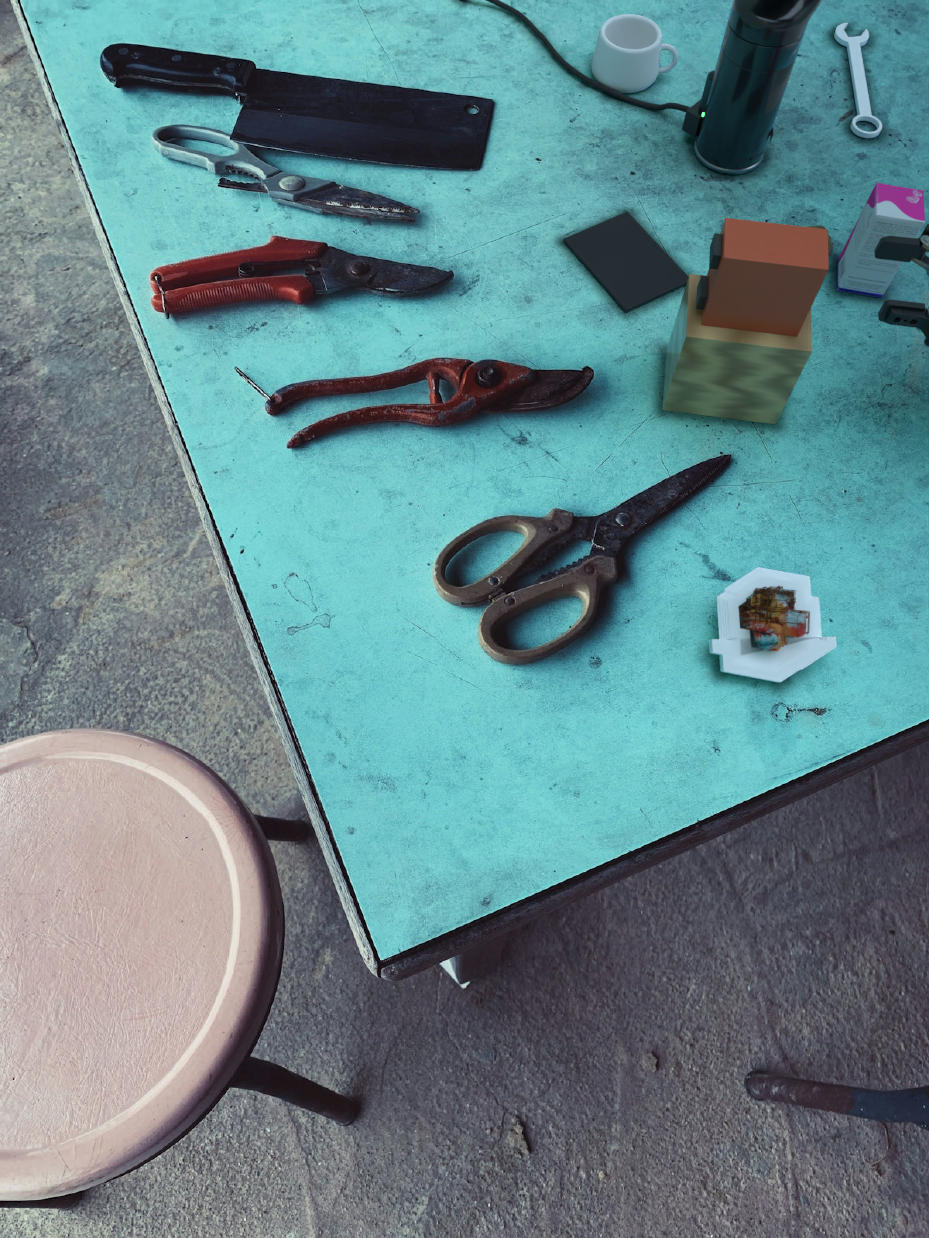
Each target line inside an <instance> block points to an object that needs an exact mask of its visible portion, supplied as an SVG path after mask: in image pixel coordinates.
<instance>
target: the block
mask: <svg viewBox="0 0 929 1238" xmlns="http://www.w3.org/2000/svg"><path fill="white" fill-rule="evenodd" d="M827 230H828V229H827V228H826V229H820V228H811V227H809V226H801V225H792V224H784V223H776V222H775V223H774V222H766V221H760V220H759V221H757V220H749V219H740V218H731V217H725V218H724V220H723V223H722V226H721V229H720V232H719V233H717V232H715V233H713V236H712V239H711V242H710V246H709V259H708V270H707V273H706V275H705V276H702V275H703V274H700V275H701V277H700V280H699V284H698V287H697V299H696V309H700V310H702V319H701V325H705V326H713V327H721V328H730V329H738V330H746V331H755V332H763V333H771V334H780V335H788V336H796V337H797V336H798V334H799V332H800V330H801V328H802V326H803V323H804V321H805V319H806V317H807V315H808V313H809V311H810V309H811V310H812V307H813V304H814V302H815V300H816V298H817V296H818V293H819V292H820V289H821V287H822V285H823V283H824V281H825V279H826V277H827V275H828V272H829V270H830V262H829V256H828V235H829V230H828V231H827Z"/></svg>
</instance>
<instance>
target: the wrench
mask: <svg viewBox="0 0 929 1238" xmlns="http://www.w3.org/2000/svg"><path fill="white" fill-rule="evenodd" d="M848 25H849V22H842V23H840V24H838V25H837V26H836V29H835V31H834V33H833V34H834V35H833V38H834V39H835V41H836V42H837V43H839V44H840V45H841V46H843V47H846V50H847V56H848V63H849V64H848V65H849V69H850V76H851V82H852V89H853V95H854V101H855V109H856V116H854V117H853V119H852V121H851V123H850V130H851V131H852V133H853V134H855V135H856V136H858V137H860V138H862V139H863V138H865V139H873V138H877V136H879V135H880V133H881V131H882V129H883V123H882V121H881V120H880V119H879V118H878V117H876V116H875V115H873V114H872V109H871V108H872V107H871V102H870V96H869V90H868V83H867V77H866V71H865V66H864V60H863V54H862V49H861V48H862V47H864V46H865V45H866V44H867V42H868V41H869V38H870V31H868V29H867V28H865V30H864V31H863V32H862V33H861V35H855V36H848V34H847V32H846V31H845V30H846V29H847V27H848ZM860 121H861V122H863V121H865V122H869V123H872V124H873V125H874V126H875V127H876V130H874V131H867V130H863V129H861V128H860V127H858V126H857V124H856V123H858V122H860Z"/></svg>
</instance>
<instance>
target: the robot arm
mask: <svg viewBox="0 0 929 1238" xmlns="http://www.w3.org/2000/svg"><path fill="white" fill-rule="evenodd" d="M458 1H459V2H466V0H458ZM485 1H486V2H488V3H491V4H492V5H495V6H497V7H499V8H501V9H503V10H504V11H506V12H508V13H510V14H512V15H513V16H515V17H516V18H518V19H519V20H520V21H522V22H523V23H524V25H526V27H527V28H528V29H530V31H531V32H532V33H533V34H534V35H535V36H536V37H537V38H538V39H539V40H540V41H541V42H542V43H543V45H544V46H545V47H546V48H547V50H548V51H549V53H550V54H551V55H552V56H553V58H554V59H555V61H557V63H558V64H559V65H560V66H562V67H563V68H564V69H565V70H567V72H569V73H571V75H573V76H574V77H576V78H577V79H579V80H580V81H581V82H584V83H585V84H586V85H589V86H591V87H593V88H595V89H597V90H599V91H600V92H603V93H605V94H607V95H610V96H611V97H613V98H616V99H618V100H621V101H623V102H624V103H628V104H630V105H632V106H635V107H639V108H642V109H646V110H651V111H664V110H675V111H680V112H683V113H685V114H684V119H683V124H682V126H681V131H683V132H684V133H686V134H688V135H690V136H691V138H690V141H691V142H693V144H694V146H693V151H694V155H695V156H696V158H697V160H698V161H699V162H700V163H701V164H702V165H703V166H705V167H706V168H708V169H709V170H712V171H714V172H716V173H721V174H724V175H742V174H747V173H749V172H751V171H753V170H755V169H756V168H758V167H759V166H760V164H761V163H762V162H763V159H764V156H765V152H766V148H767V145H768V142H769V143H772V140H773V137H774V125H775V122H776V119H777V116H778V113H779V110H780V107H781V105H782V102H783V98H784V95H785V92H786V88H787V86H788V84H789V81H790V78H791V74H792V73H793V72H792V71H793V68H794V66H795V63H796V60H797V58H798V54H799V51H800V48H801V45H802V43H803V39H804V36H805V34H806V33H805V32H806V30H807V27H808V26H809V22H810V20H811V18H812V17H813V15H814V14H815V13H816V11H817V10H818V8H819V7H820V5H821V3H822V1H823V0H732V4H731V6H730V11H729V14H728V19H727V22H726V26H725V30H724V33H723V38H722V42H721V45H720V49H719V53H718V56H717V62H716V64H715V68H714V70H711V71H709V72H708V74H707V75H706V79H705V84H704V87H703V91H702V95H701V98H700V99H699V100H697V102H695V103H694V104H693V105H692V106H688V105H685V104H682V103H677V102H665V103H662V104H659V103H652V102H647V101H643V100H640V99H637V98H634V97H631V96H629V95H626V94H625V93H620V92H617V91H615V90H613V89H611V88H609V87H607V86H604V85H602V84H600V83H598V81H597V80H594V79H592V78H591V77H589V76H587V75H586V74H583V73H582V72H581V71H580V70H578V69H576V68H575V67H574V66H573V65H571V64H570V63H569V62H567V61H566V60H565V59H564V58H563V57H562V56H561V55H560V54H559V53H558V51H557V49H556V48H555V47H554V46H553V44H552V43H551V42H550V41H549V39H548V38H547V37H546V35H545V34H543V33H542V32H541V30H540V29H539V28H538V27H537V26H536V25H535V24H534V23H533V22H532V21H531V20H530V19H529V18H528V17H527V16H526V15H525V14H523V13H522V11H521V12H520V11H519V10H518V9H516V8H515V7H513V6H511V5H509V4H507V3H505V2H503V1H501V0H485ZM874 253H875V258H877V259H884V260H892V261H901V262H902V263H911V262H913V263H915V264H916V265H917V266H919V267H921V268H922V269H924V270H925V271H926V276H927V277H928V278H929V256H928V255H926V254H927V253H929V223H927V224H926V225H925V226H924V228H923V231H922V232H921V234H920V236H919V237H916V238H907V237H899V236H897V237H896V236H886V237H882V238H881V239H880V240H879V242H878V244H877V246H876V248H875V250H874ZM877 317H878V321H879V322H883V323H885V324H888V325H890V326H898V327H907V328H915V329H916V330H917V331H918V332H919V333H921V334H922V333H923V336H924V337H925V338H924V340H923V344H924V345H925V347H928V348H929V306H927V307H926V303H924V302H917V301H916V302H915V301H907V300H900V299H899V300H898V299H890V298H889V299H886V300H885V301H884V302H883V304H882V305H881V306H880V309H879V310H878V312H877Z"/></svg>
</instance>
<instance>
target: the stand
mask: <svg viewBox="0 0 929 1238" xmlns="http://www.w3.org/2000/svg"><path fill="white" fill-rule="evenodd" d="M701 275H702V276H706V275H704V274H695V273H689V274H688V280H687V284H686V285H685V286H684V290H683V294H682V297H681V301H680V304H679V308H678V311H677V313H676V317H675V321H674V324H673V328H672V330H671V335H670V337H669V340H668V344H667V348H666V352H665V365H664V366H665V367H664V381H663V394H662V395H663V398H662V409H661V411H667V412H674V413H682V414H690V415H698V416H706V417H713V418H722V419H728V420H729V419H731V420H738V421H746V422H754V423H761V424H768V425H770V424H771V425H776V424H777V422H778V420H779V419H780V416H781V415H782V413H783V410H784V408H785V406H786V404H787V402H788V400H789V398H790V397H791V395H792V392H793V391H794V388H795V387H796V385H797V382H798V381H799V378H800V376H801V374H802V372H803V370H804V369H805V366H806V365H807V363H808V360H809V359H810V356H811V355H812V353H813V337H812V336H813V332H812V308H811V309H810V311H809V313H808V315H807V317H806V319H805V321H804V323H803V326H802V328H801V330H800V332H799V334H798V336H797V337H796V336H788V335H780V334H771V333H763V332H755V331H746V330H738V329H730V328H721V327H713V326H705V325H701V319H702V310H700V309H696V299H697V287H698V284H699V280H700V277H701Z"/></svg>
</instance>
